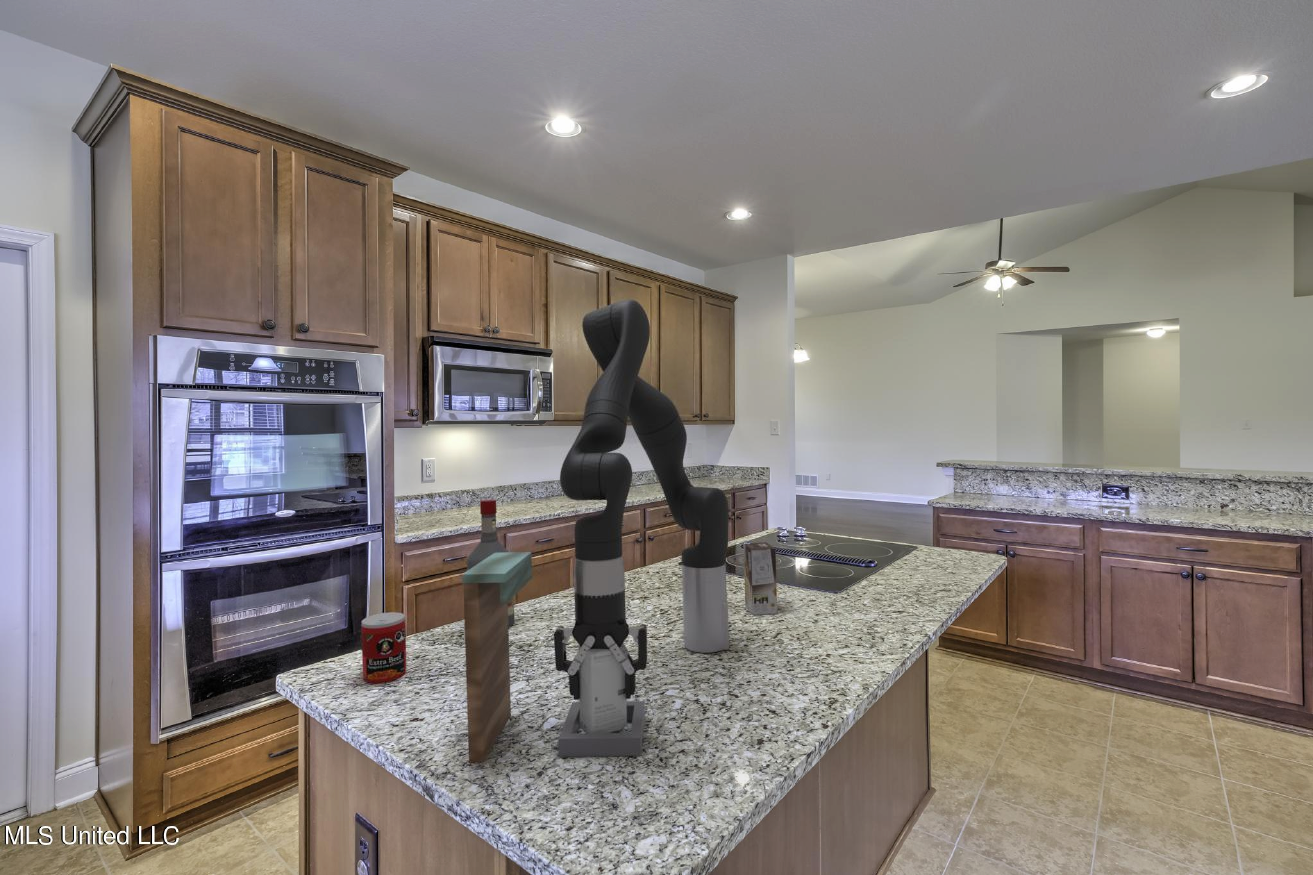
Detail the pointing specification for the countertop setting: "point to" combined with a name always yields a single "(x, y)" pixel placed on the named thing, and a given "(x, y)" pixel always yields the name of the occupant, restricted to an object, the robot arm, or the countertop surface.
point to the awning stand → (490, 645)
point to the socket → (602, 735)
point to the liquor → (489, 544)
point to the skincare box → (602, 692)
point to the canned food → (383, 647)
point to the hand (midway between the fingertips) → (602, 696)
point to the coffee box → (760, 578)
